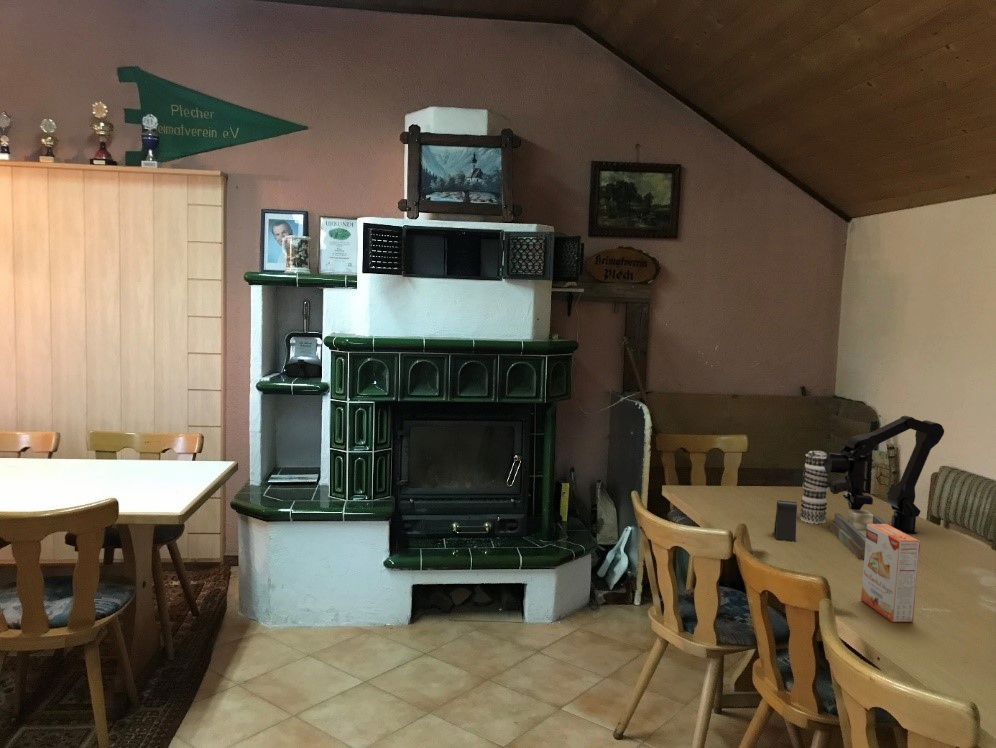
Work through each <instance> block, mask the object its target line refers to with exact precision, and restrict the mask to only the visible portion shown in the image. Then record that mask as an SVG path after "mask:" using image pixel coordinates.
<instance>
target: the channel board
mask: <svg viewBox="0 0 996 748" xmlns="http://www.w3.org/2000/svg"><path fill="white" fill-rule="evenodd" d="M833 519H834V520H830V521H829V530H830V532H832V533H833V534H834V535H835V536H836V537H837V538H838V539H839V540H840V542H842V543H843V544H844V545H845V546H846V547H847V548H848V549H849V550H850V551H851V552H852V553H853V554H854V555H855V556H856V557H857V558H858V559H859V560H862V559H864V556H865V543H866V530H864V529H856V528H855V527H854V526H853V525H852V524H851V523H849V522H848V519H847V518H845V517H844V516H843V515H842V514H841V513H834V518H833ZM873 524H888V522H886V521H885V520H884V519H882V518H881V517H880V516H877V515H873ZM888 525H890V524H888Z"/></svg>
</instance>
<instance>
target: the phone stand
mask: <svg viewBox="0 0 996 748" xmlns="http://www.w3.org/2000/svg"><path fill="white" fill-rule="evenodd" d="M797 510H798V503H797V502H796V501H788V500H787V501H786V500H779V499H778V500H777V501H776V511H775V517H774V518H775V520H774V528H773V534H774V537H776V538H775V540H776V541H783V540H786V541H785V542H792V541H794V542H795V543H796V542H797V538H796V537H797V536H796V535H797V514H798V513H797V512H798V511H797Z"/></svg>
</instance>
